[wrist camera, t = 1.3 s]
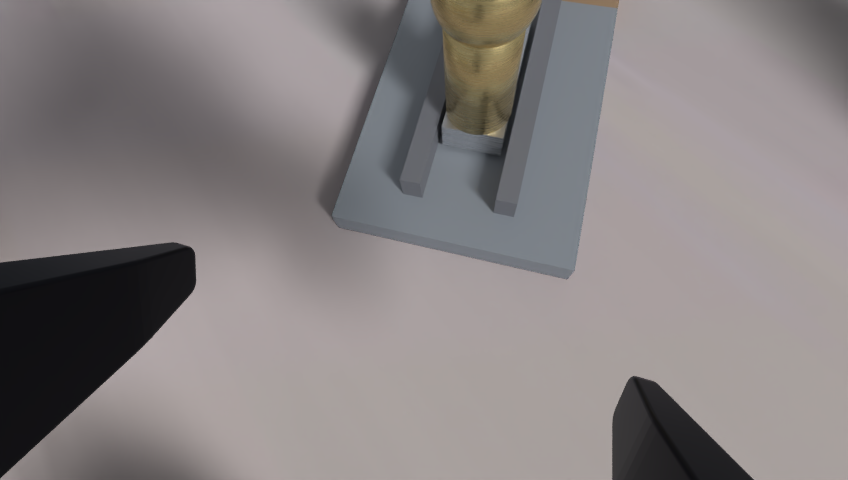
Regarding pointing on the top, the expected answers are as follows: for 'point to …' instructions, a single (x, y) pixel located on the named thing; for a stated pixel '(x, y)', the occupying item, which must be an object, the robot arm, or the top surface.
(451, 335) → the top surface
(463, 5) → the brass ball knob
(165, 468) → the top surface
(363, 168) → the grey railed plate
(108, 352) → the robot arm
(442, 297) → the top surface
